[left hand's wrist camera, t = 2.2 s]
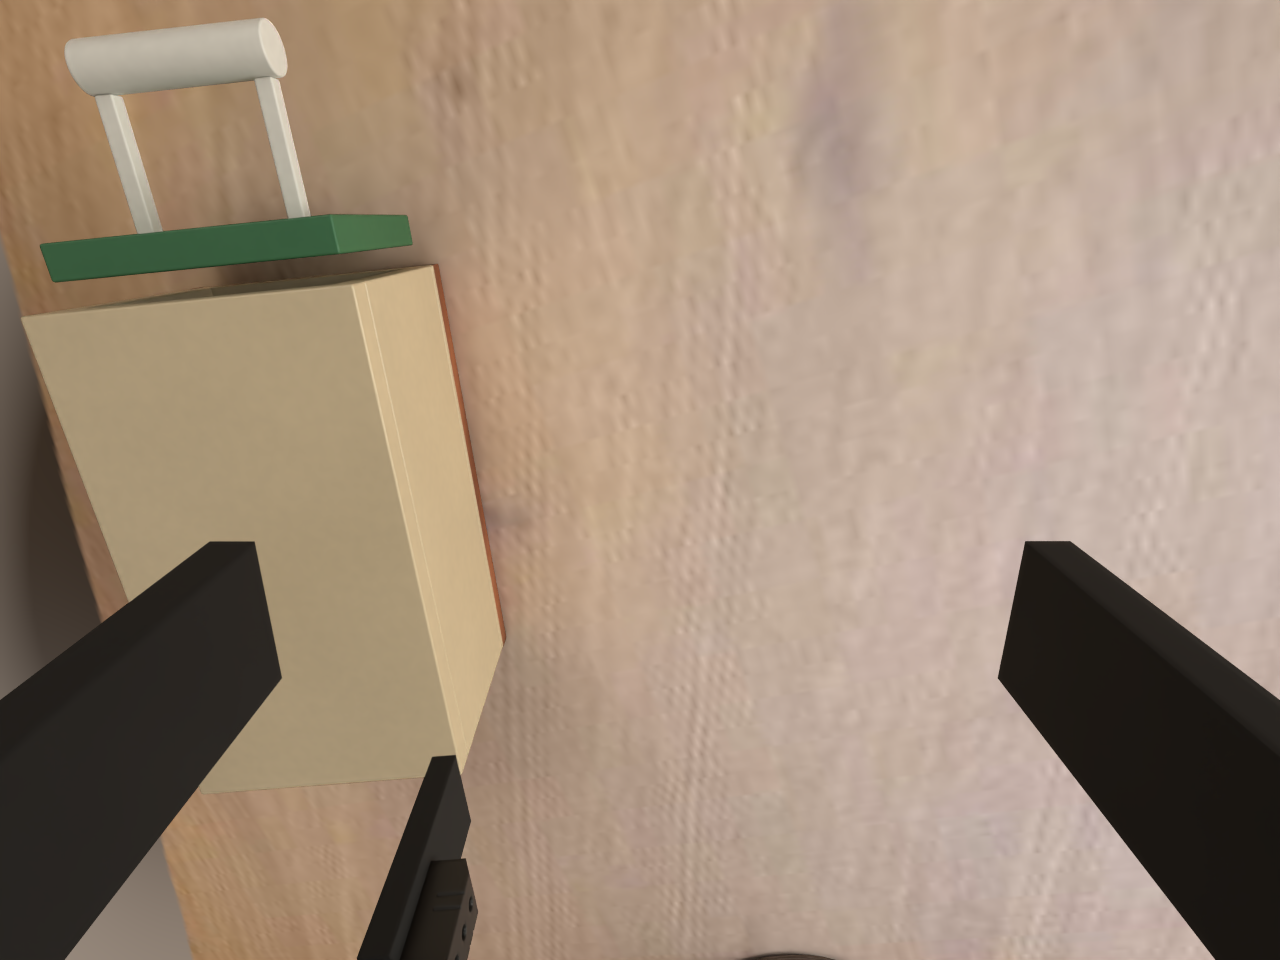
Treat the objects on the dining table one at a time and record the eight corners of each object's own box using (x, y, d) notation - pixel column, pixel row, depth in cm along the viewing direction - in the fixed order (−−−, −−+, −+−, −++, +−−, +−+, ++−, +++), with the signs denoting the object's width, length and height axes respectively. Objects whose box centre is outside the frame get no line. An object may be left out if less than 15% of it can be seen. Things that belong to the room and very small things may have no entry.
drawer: (138, 76, 28) (-42, 25, 21) (376, 50, 28) (279, -11, 21) (293, 605, 37) (204, 706, 29) (479, 589, 36) (437, 687, 29)
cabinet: (200, 287, 32) (18, 316, 23) (438, 263, 32) (352, 283, 22) (308, 653, 39) (200, 795, 29) (506, 637, 38) (462, 775, 29)
